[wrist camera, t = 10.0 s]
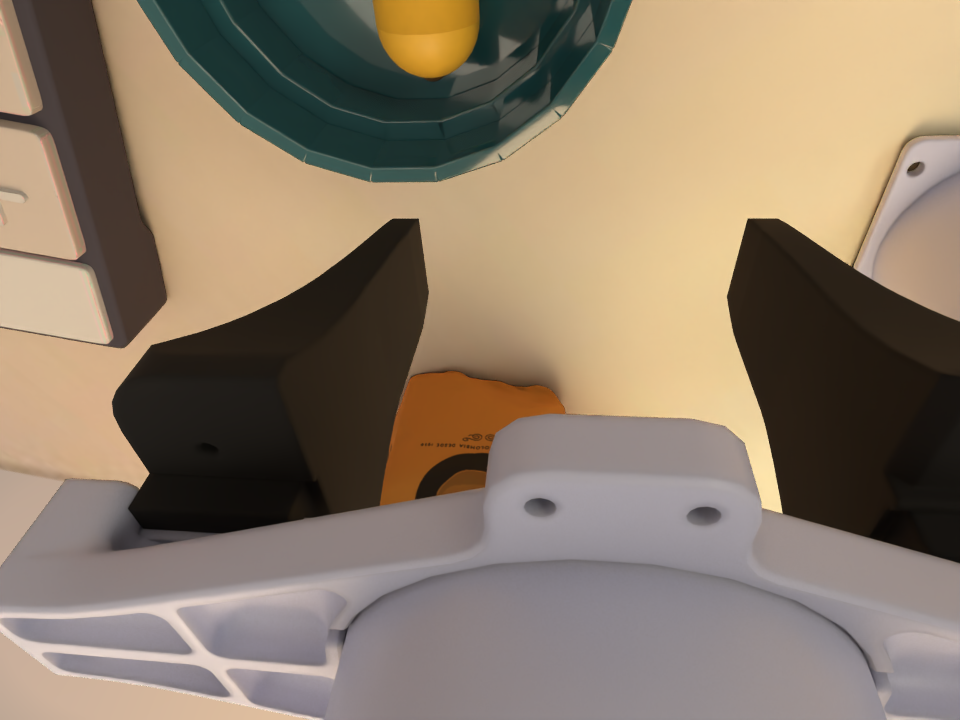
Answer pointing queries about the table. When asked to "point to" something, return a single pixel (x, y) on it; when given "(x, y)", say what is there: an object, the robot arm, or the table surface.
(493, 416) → the coffee package
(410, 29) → the amber tube
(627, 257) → the table surface
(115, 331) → the calculator
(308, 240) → the table surface
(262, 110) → the teal bowl
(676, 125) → the table surface
